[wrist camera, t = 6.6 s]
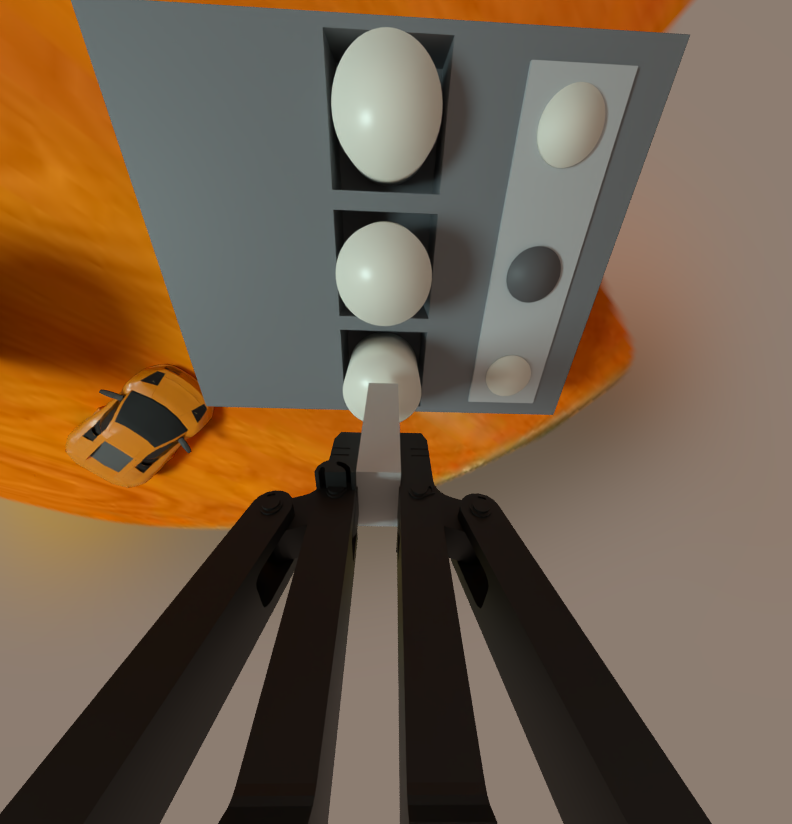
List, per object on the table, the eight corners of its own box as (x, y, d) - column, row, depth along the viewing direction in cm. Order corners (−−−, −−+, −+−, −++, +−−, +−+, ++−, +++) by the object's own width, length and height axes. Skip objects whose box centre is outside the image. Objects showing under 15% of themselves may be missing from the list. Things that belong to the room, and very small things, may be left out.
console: (231, 380, 25) (203, 409, 21) (141, 44, 15) (59, -11, 11) (531, 388, 25) (555, 417, 22) (626, 73, 16) (698, 29, 12)
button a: (351, 392, 22) (344, 424, 19) (349, 331, 20) (340, 355, 16) (414, 394, 22) (418, 426, 19) (418, 333, 20) (424, 357, 16)
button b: (348, 304, 19) (338, 324, 15) (344, 219, 17) (332, 220, 13) (421, 307, 19) (427, 327, 16) (427, 222, 17) (436, 224, 13)
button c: (346, 184, 17) (335, 176, 14) (341, 67, 15) (327, 23, 11) (427, 187, 17) (436, 181, 14) (435, 73, 15) (449, 30, 11)
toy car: (236, 410, 27) (218, 432, 24) (147, 476, 31) (123, 502, 28) (163, 347, 24) (133, 365, 21) (74, 430, 28) (39, 454, 25)
